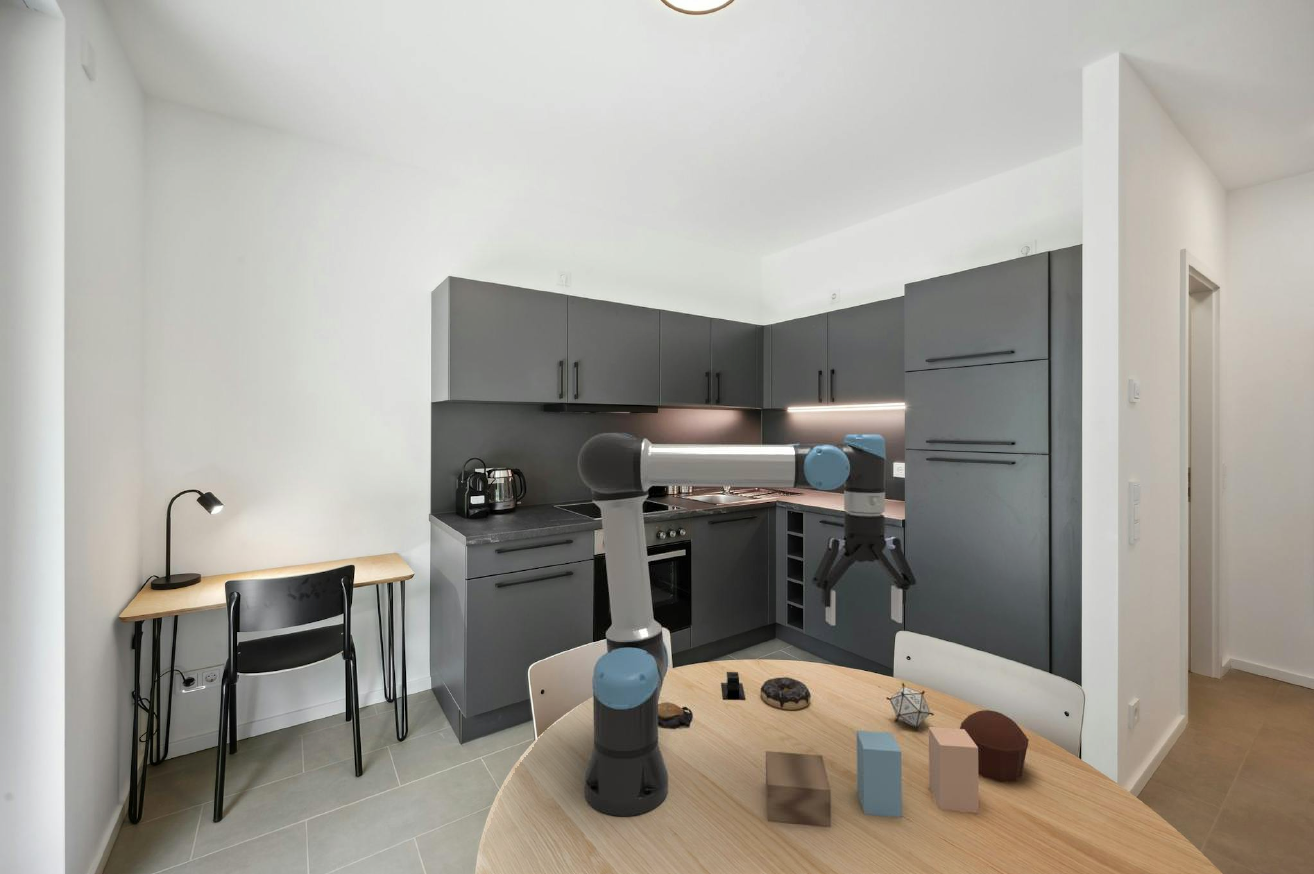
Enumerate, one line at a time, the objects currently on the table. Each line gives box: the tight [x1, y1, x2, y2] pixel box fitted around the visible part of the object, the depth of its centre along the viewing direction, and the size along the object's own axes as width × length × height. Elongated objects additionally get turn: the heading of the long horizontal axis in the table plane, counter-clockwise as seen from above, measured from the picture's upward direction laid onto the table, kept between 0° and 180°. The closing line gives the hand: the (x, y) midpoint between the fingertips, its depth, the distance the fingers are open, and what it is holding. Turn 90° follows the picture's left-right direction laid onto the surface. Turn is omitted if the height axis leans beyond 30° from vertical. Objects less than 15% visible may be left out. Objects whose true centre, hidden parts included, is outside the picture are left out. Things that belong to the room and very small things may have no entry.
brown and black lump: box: [658, 702, 694, 729], centre depth 127 cm, size 11×8×4 cm
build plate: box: [720, 671, 747, 701], centre depth 140 cm, size 12×7×5 cm, turn 176°
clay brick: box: [928, 726, 980, 814], centre depth 98 cm, size 6×6×11 cm
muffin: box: [959, 709, 1029, 783], centre depth 107 cm, size 12×11×10 cm
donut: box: [760, 676, 811, 711], centre depth 135 cm, size 11×12×4 cm
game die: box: [885, 682, 935, 732], centre depth 123 cm, size 9×8×10 cm
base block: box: [765, 750, 832, 828], centre depth 97 cm, size 10×10×6 cm
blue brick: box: [856, 729, 903, 818], centre depth 97 cm, size 6×6×11 cm
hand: (863, 622), depth 110 cm, fingers open, 13 cm apart
